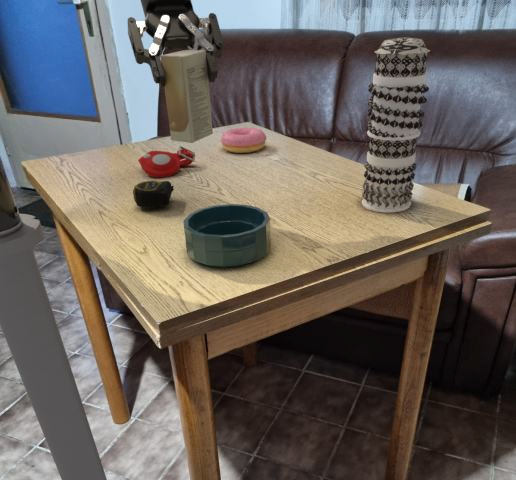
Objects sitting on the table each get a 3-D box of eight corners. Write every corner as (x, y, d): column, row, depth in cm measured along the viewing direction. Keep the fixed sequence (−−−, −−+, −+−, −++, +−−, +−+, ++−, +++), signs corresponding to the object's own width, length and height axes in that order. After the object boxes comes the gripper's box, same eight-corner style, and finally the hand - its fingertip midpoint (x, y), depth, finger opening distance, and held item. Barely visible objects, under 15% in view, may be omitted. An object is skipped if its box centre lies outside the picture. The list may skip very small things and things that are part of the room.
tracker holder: (164, 175, 105) (127, 158, 108) (167, 192, 109) (130, 175, 112) (200, 147, 112) (163, 131, 115) (201, 164, 115) (166, 149, 118)
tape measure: (170, 211, 92) (167, 190, 90) (132, 212, 92) (128, 192, 90) (175, 198, 97) (172, 178, 95) (139, 199, 97) (135, 180, 95)
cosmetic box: (192, 132, 87) (184, 49, 80) (214, 134, 85) (207, 49, 78) (169, 141, 82) (158, 54, 75) (191, 144, 80) (182, 54, 73)
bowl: (189, 274, 72) (184, 240, 69) (186, 238, 82) (182, 208, 79) (276, 265, 73) (275, 231, 70) (263, 231, 83) (262, 200, 80)
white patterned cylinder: (369, 216, 86) (385, 44, 72) (352, 197, 94) (363, 38, 79) (421, 210, 87) (446, 40, 73) (400, 192, 95) (419, 34, 80)
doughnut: (217, 145, 128) (216, 127, 125) (260, 140, 129) (260, 123, 127) (226, 156, 119) (224, 137, 116) (271, 151, 121) (271, 133, 118)
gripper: (114, -33, 74) (141, 67, 72) (209, -36, 78) (238, 59, 76) (116, 9, 81) (141, 102, 79) (203, 5, 85) (229, 93, 83)
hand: (188, 81), depth 77 cm, fingers closed on cosmetic box, 7 cm apart
